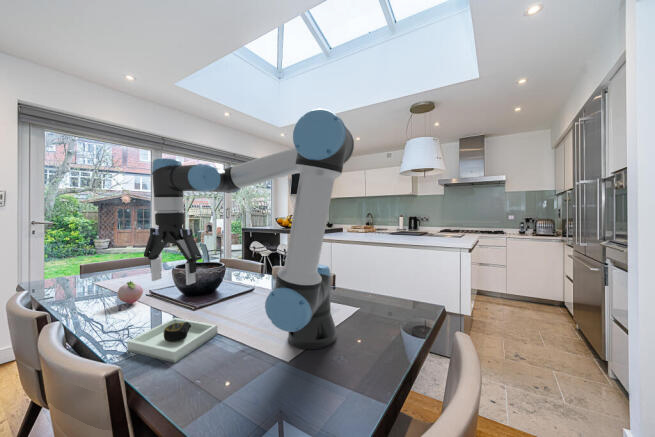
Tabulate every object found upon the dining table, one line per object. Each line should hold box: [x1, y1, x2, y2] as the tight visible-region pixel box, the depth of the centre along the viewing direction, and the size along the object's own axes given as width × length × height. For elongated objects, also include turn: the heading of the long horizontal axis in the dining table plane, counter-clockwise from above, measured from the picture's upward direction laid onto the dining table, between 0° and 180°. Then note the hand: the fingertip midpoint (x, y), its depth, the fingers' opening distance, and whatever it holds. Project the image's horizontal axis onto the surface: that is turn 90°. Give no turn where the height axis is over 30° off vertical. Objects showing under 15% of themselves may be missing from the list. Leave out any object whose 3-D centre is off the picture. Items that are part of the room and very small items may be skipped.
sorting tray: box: [126, 317, 219, 364], centre depth 81 cm, size 18×16×3 cm
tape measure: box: [164, 322, 191, 342], centre depth 81 cm, size 7×7×4 cm
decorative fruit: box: [117, 280, 144, 305], centre depth 111 cm, size 9×8×10 cm
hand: (173, 281), depth 80 cm, fingers open, 13 cm apart
